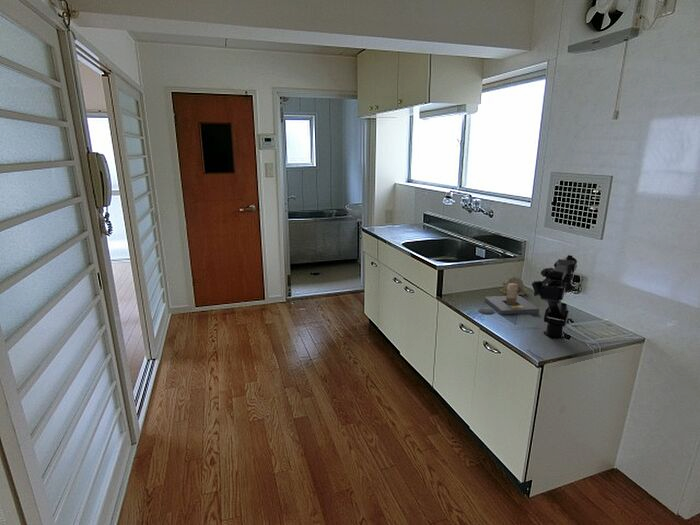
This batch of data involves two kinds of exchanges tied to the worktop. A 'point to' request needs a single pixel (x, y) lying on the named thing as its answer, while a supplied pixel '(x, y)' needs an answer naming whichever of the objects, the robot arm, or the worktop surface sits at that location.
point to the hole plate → (503, 308)
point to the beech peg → (511, 294)
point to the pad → (486, 311)
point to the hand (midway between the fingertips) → (542, 294)
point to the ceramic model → (516, 281)
